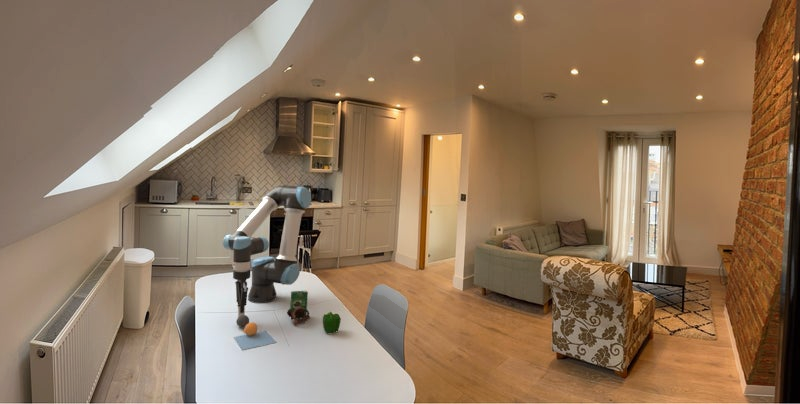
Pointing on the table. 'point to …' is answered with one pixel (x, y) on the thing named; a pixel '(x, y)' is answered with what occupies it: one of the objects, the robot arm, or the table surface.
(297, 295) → the coffee box
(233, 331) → the table surface
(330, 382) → the table surface
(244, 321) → the black ball
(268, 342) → the blue mark
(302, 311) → the pottery mug
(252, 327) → the orange ball
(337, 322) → the bell pepper
